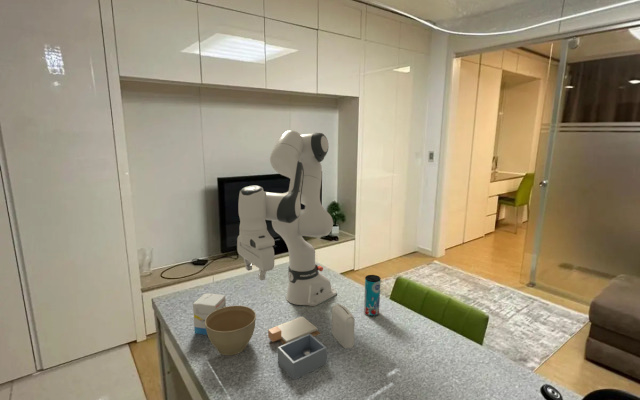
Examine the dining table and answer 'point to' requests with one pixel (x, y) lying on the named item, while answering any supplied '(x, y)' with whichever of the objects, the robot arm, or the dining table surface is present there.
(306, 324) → the lid
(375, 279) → the beverage can
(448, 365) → the dining table surface
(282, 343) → the mat
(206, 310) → the ink box
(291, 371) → the tub
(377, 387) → the dining table surface
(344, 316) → the photo printer
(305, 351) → the part
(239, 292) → the dining table surface
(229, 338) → the planter bowl
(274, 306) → the dining table surface
